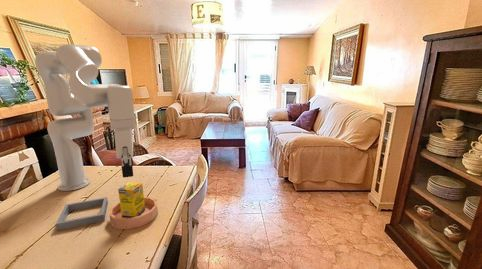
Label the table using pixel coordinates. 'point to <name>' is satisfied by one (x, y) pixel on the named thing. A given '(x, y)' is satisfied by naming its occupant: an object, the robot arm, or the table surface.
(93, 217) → the open square frame
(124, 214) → the supplement box
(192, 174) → the table surface
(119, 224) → the bowl
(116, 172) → the table surface
